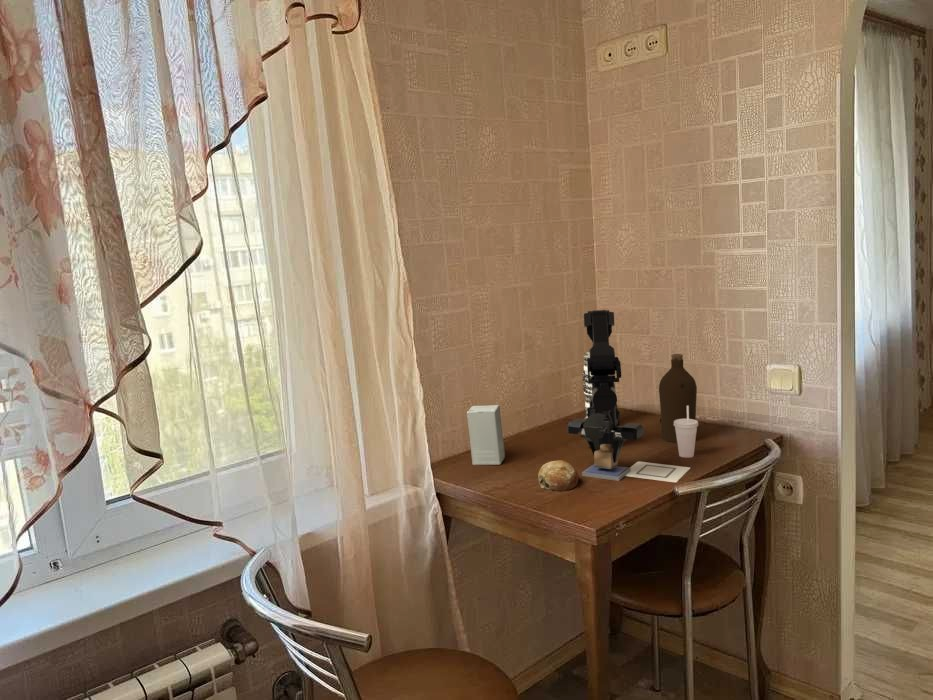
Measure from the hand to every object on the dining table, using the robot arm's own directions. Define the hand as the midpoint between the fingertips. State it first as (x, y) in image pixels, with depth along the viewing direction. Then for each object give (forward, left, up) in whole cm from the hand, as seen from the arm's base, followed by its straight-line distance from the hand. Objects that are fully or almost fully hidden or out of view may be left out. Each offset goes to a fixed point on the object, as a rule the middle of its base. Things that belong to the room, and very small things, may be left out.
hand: (606, 461), depth 184 cm
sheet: (+11, +6, -3) cm, 13 cm away
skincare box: (-34, -3, -4) cm, 34 cm away
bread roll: (-8, -11, -4) cm, 14 cm away
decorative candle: (-19, +40, -4) cm, 44 cm away
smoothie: (+14, +22, -4) cm, 26 cm away
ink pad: (0, 0, -3) cm, 3 cm away
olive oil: (+7, +38, -4) cm, 39 cm away
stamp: (0, 0, -1) cm, 1 cm away
